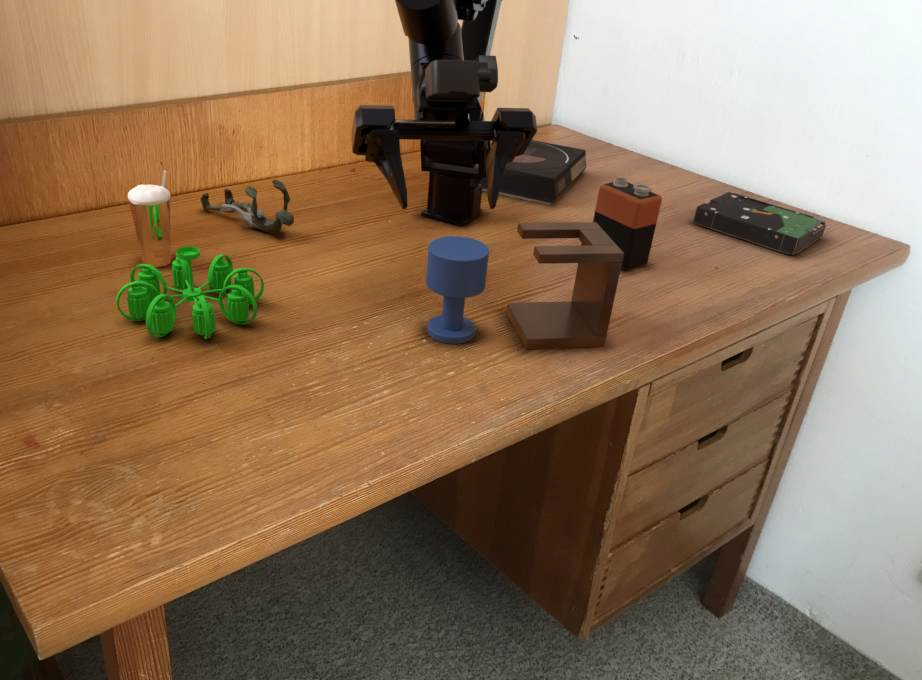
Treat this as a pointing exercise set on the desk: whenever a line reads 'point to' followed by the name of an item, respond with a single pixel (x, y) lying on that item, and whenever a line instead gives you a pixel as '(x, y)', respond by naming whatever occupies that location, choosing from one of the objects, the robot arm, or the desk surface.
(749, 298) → the desk surface
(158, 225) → the milkshake
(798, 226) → the disk drive
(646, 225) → the battery
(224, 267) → the chandelier
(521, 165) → the portable cd player
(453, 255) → the peg
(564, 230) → the brown slotted stand
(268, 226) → the zombie figurine
